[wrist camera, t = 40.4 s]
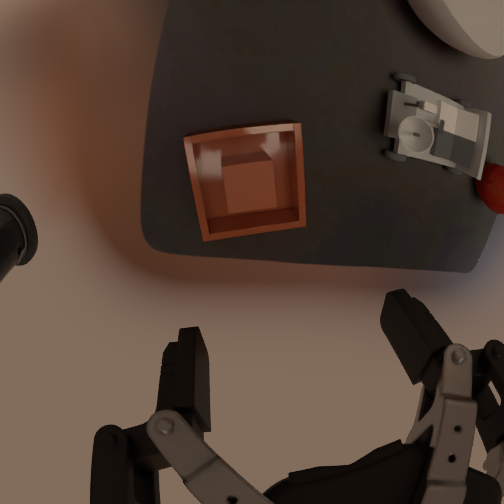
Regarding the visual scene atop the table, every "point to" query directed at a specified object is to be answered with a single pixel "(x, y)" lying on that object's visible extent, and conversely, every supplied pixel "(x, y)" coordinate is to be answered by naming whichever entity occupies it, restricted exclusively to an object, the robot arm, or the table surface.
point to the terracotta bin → (242, 142)
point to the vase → (465, 24)
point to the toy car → (436, 128)
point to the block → (249, 182)
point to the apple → (492, 187)
